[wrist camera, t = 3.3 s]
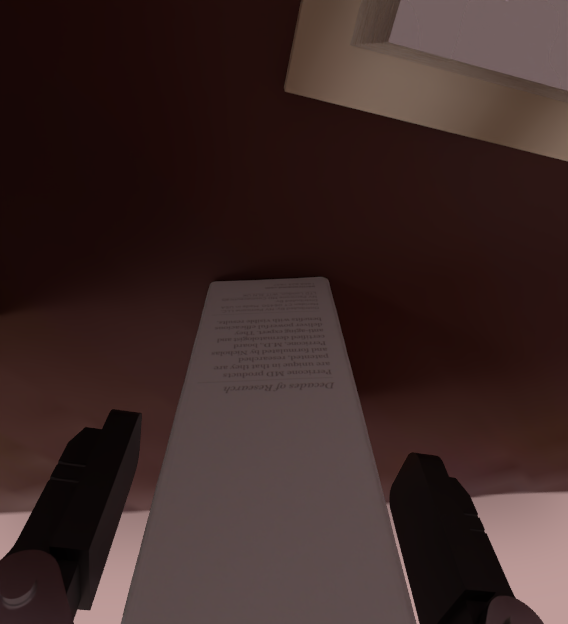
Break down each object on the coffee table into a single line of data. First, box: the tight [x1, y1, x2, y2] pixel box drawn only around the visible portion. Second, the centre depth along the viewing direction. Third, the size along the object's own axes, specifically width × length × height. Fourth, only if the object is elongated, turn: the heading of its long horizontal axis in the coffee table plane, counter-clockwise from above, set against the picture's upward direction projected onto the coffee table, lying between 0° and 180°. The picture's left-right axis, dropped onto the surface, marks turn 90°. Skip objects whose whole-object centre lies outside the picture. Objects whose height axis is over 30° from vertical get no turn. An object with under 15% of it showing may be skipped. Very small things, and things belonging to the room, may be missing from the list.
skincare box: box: [121, 277, 416, 624], centre depth 11 cm, size 6×4×12 cm
